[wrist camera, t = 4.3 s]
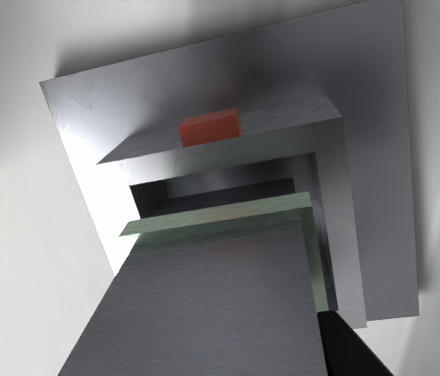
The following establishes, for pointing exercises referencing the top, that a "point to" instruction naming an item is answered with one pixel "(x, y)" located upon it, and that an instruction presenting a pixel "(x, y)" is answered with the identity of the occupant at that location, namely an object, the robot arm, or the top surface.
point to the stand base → (264, 140)
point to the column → (213, 290)
